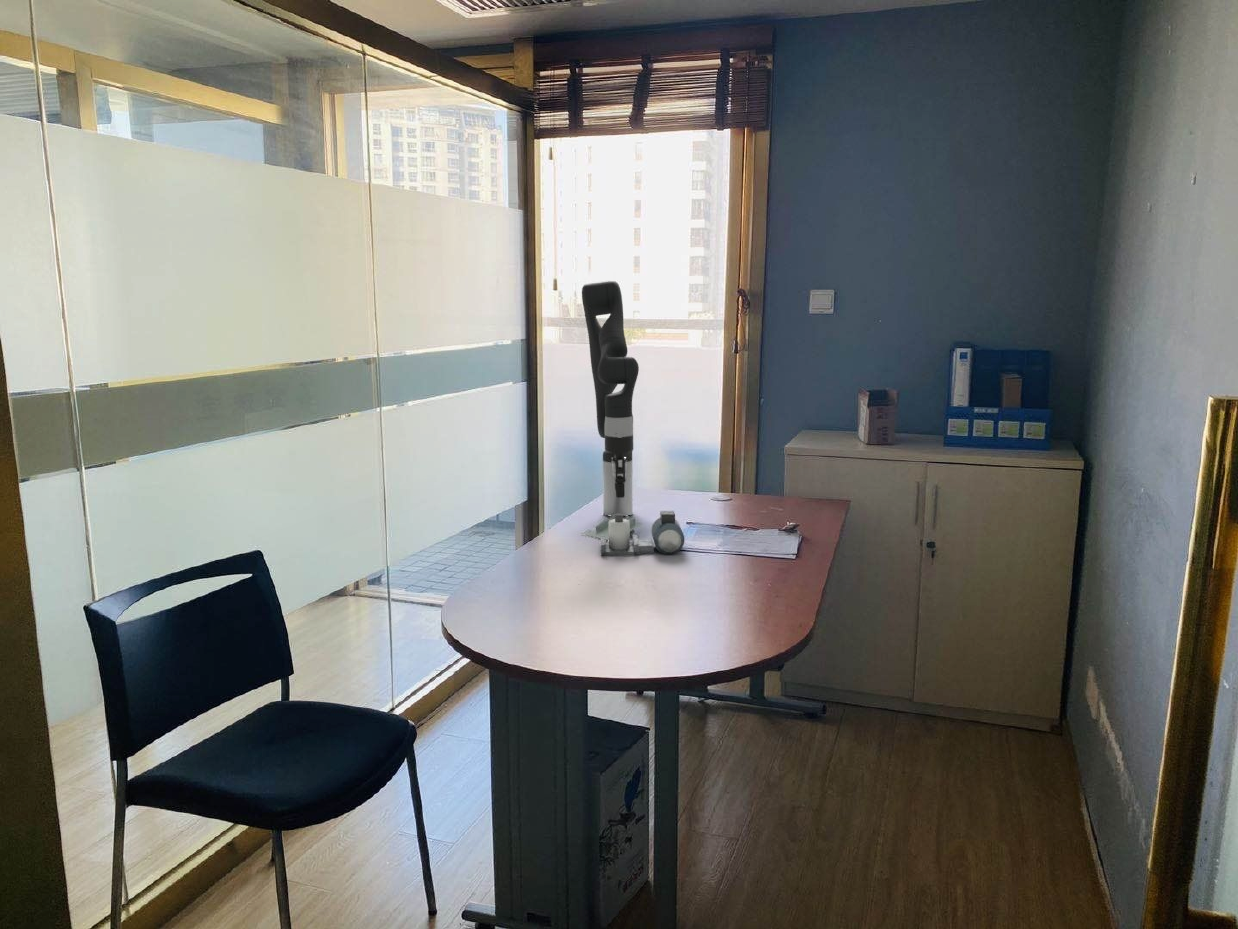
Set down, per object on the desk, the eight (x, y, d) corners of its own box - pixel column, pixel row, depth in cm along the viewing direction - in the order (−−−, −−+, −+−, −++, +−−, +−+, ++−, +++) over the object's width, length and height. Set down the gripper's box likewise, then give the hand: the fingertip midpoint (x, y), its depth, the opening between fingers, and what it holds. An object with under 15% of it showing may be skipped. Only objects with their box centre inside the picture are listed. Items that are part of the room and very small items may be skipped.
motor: (600, 545, 244) (600, 509, 242) (680, 544, 244) (680, 508, 242) (601, 557, 233) (600, 519, 231) (684, 555, 233) (685, 517, 232)
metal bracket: (609, 508, 263) (647, 516, 253) (613, 526, 266) (651, 534, 256) (576, 531, 254) (615, 539, 244) (581, 548, 256) (619, 558, 246)
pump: (608, 544, 241) (608, 512, 240) (629, 543, 242) (629, 512, 240) (609, 549, 236) (608, 517, 234) (630, 549, 236) (629, 517, 235)
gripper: (604, 429, 240) (604, 488, 243) (605, 438, 226) (606, 500, 229) (631, 429, 240) (632, 487, 243) (634, 437, 226) (635, 499, 229)
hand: (619, 493), depth 236 cm, fingers open, 8 cm apart
